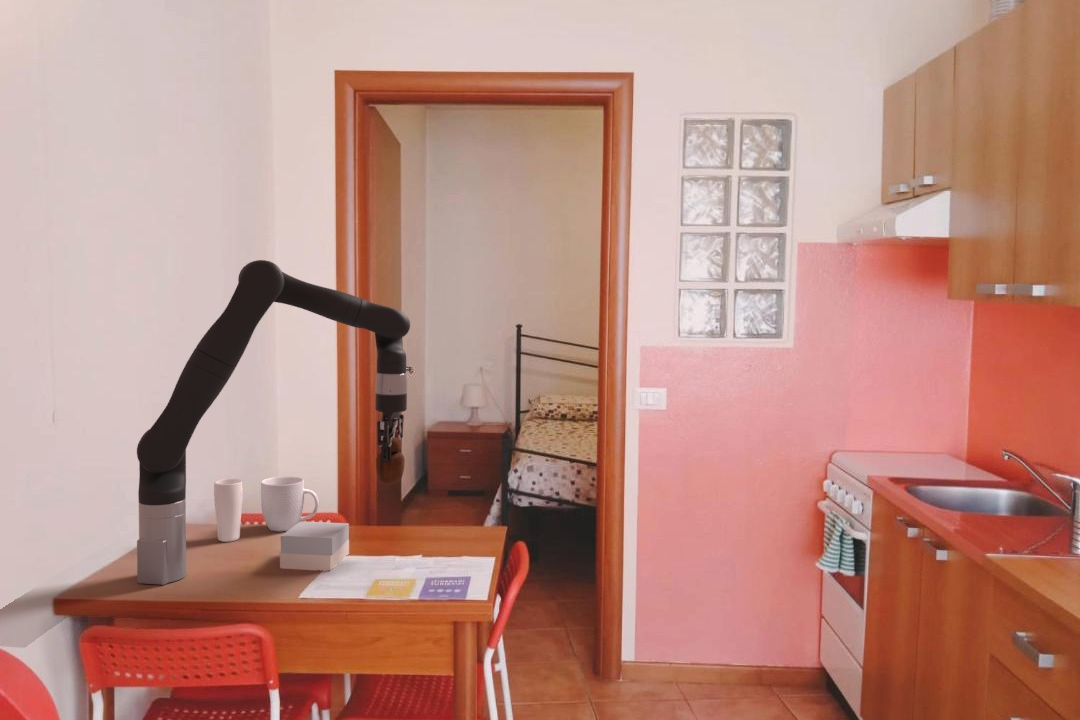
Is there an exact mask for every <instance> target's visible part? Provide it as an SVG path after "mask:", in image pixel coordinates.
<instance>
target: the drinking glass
mask: <svg viewBox="0 0 1080 720" xmlns="http://www.w3.org/2000/svg"><path fill="white" fill-rule="evenodd" d="M213 484H214V485H213V492H214V493H213V498H214V501H213V502H214V509H215V520H216V528H217V529H216V530H217V540H218V541H220V542H222V543H229V542H235V541H238V540H239V539H240V537H241V521H242V509H243V508H242V507H243V500H244V499H243V497H244V493H243V492H244V490H243V488H244V487H243V486H244V483H243V480H242V479H238V478H224V479H219V480H216V481H215V482H214V483H213Z"/></svg>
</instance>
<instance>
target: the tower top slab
mask: <svg viewBox="0 0 1080 720" xmlns="http://www.w3.org/2000/svg"><path fill="white" fill-rule="evenodd" d="M349 528H350V523H346V522H324V521H323V522H322V521H321V522H320V521H304V520H303V521H299V523H298V524H296V525H295V526H294V527H292V528H291V529H289V530H288V531H284V533H283V534H281V535H280V553H293V554H316V555H333V554H334V553H335V552H336V551H337V550H338V549H339V548H340V547H341V546H343V545H344V544H345V543H346V542H347V541H348V540H349V541H350V538H349V536H350V535H349V534H350V529H349Z"/></svg>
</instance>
